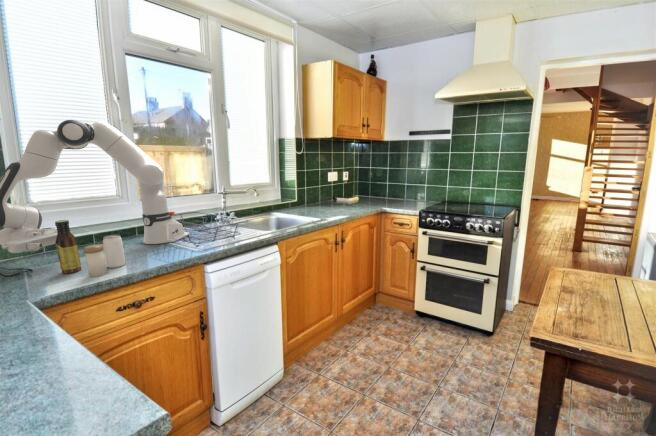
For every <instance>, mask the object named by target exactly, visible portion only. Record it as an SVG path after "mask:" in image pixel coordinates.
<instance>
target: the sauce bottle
mask: <svg viewBox="0 0 656 436" xmlns="http://www.w3.org/2000/svg"><path fill="white" fill-rule="evenodd" d="M69 221H70V220H69V219H60V220H56V221H55V222H54V225H55V227H56V229H57V238H56V242H55V244H54V245H55V249H56V253H57V258H58V263H59V266H60V267H59V268H60V270H61V272H62V273H63V274H72V273H77V272H79V271H81V269H82V266H81V259H80V254H79V248H78V244H77V239H76V237H75V235H74V234H73V233H72V232H71V229H70V223H69Z"/></svg>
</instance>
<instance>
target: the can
mask: <svg viewBox="0 0 656 436" xmlns="http://www.w3.org/2000/svg"><path fill="white" fill-rule="evenodd" d="M102 238H103V240H102V245H103V247H104V250H103V251H104V257H105V263H106V268H109V269H116V267H117V268H120V266H121V267H123V266H124V265H126V257H125V249H124V244H123V243H124V242H123V238H122V237H121V235H120V234H110V235H106V236H103V237H102Z"/></svg>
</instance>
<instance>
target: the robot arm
mask: <svg viewBox="0 0 656 436" xmlns="http://www.w3.org/2000/svg"><path fill="white" fill-rule="evenodd" d="M89 144H93V145H96V146H97V147H99V148H100V149H101V150H102V151H103V152H105V153H106V154H107V155H109V157H111V158H112V159H113V160H114V161H116V162H117V163H118V164H119V165H121V166H122V167H123V168H124V169H125V170H126V171H128V173H130V174H131V175H132V176H133V177H134V178H136V179H137V180H138V187H139V193H140V202H141V208H142V222H143V225H144V226H143V227H144V229H143V231H144V232H143V233H144V234H143V242H142V243H143V244H145V245H157V244H165V243H174V242H177V241H178V240H181V239H183V238H185V237H187V236H189V235H190V233H189V232H188V231H185V230H184V226H183V224H182V223H180V222H179V221H177V220H176V219H174V218H172V216H175V213H176V212H175V211H173V210H172V211H171V210H170V211H169V210H168V202H167V194H166V188H165V183H164V182H165V181H164V177H165V172H164V170H163V167H162V166H160V165H159V164H158V163H157V162H155V160H153V159H152V158H151V157H150V156H149V155H147V154H146V153H145V151H143V150H142V149H141V148H140V147H139V146H137V145H136V144H135V143H134V142H132V141H131V140H130V139H129V138H128V137H127V136H126V135H124V133H122V132H121V131H119V130H118V129H117V128H115V127H114V126H112V125H111V124H109V123H107V122H106V121H103V120H99V121H95V122H93V123H92V124H90V123H86V122H83V121H79V120H77V119H65V120H63V121H62V122H60V123H59V125H58V126H57V129H56V130H55V131H51V130H48V129H38V130H35V131H34V132H33V133H32V135H31V136H30V138H29V139H28V142H27V143H26V146H25V149H24V152H23V154H22V156H21V158H19V160H17V161H15V162H11V163H10V164H9V165H7V167H6V168H5V170H4V171H3V173H2V175H1V176H0V228H2V229H0V245H1V249H3V250H7V252H9V253H11V254H20V253H24V252H37V251H39V250H41V249H43V248H45V247H47V246H52V245H56V244H55V242H56V238H57V228H55V227H45V228H44V227H43V228H41V227H42V223H43V216H42V214H41V212H40V211H39V209H38V208H37V207H35V206H29V205H24V204H17V203H11V202H10V203H9V202H8V200H9V197H10V196H11V194H12V193H13V191H14V189H15V188H16V186H17V184H18V183H21V181H25V180H29V179H41V178H45V177H49V176H50V175H52V174H53V173H54V172H55V170H56V169H57V166H58V164H59V159H60V156H61V154H62V152H63V150H82V149H84V148H86V147H87V146H89Z"/></svg>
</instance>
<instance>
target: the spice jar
mask: <svg viewBox="0 0 656 436" xmlns="http://www.w3.org/2000/svg"><path fill="white" fill-rule="evenodd" d="M83 253H84V255H85V261H86V265H87V272H88V276H89V277H90V276H97V277H101V276H100V275H102V276H103V274H104V275H106V274H107V273H108V270H107V268H108V267H107V265H106V259H105V253H104V247H103V243H102V244H101V243H99V244H90V245H86V246H84V247H83ZM105 273H106V274H105Z"/></svg>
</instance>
